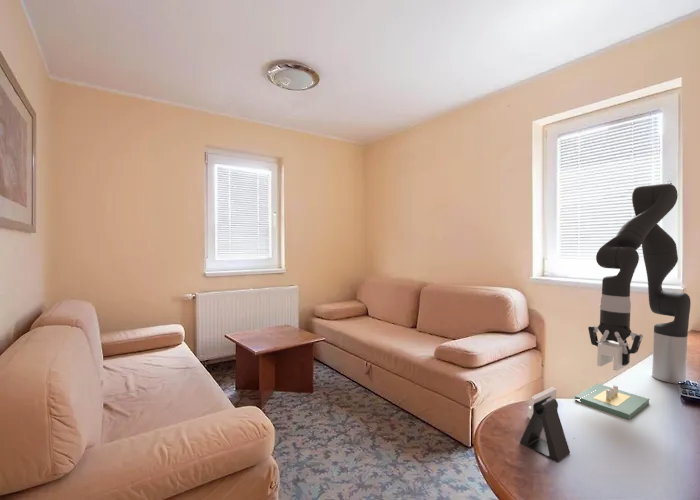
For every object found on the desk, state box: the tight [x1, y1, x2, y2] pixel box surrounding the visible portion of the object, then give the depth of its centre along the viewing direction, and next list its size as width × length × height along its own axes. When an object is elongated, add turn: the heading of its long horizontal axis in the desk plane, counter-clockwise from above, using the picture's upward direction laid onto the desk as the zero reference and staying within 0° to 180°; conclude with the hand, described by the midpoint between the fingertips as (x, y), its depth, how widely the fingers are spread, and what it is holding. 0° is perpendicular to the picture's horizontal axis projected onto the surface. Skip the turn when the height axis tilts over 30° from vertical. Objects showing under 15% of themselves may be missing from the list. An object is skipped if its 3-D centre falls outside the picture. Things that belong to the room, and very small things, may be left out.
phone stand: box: [519, 397, 571, 463], centre depth 83 cm, size 9×6×12 cm, turn 34°
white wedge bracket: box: [527, 386, 557, 420], centre depth 96 cm, size 4×10×9 cm, turn 84°
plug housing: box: [596, 341, 630, 372], centre depth 107 cm, size 10×5×7 cm, turn 125°
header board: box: [574, 383, 650, 421], centre depth 108 cm, size 18×14×4 cm
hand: (613, 362), depth 108 cm, fingers closed on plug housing, 5 cm apart
